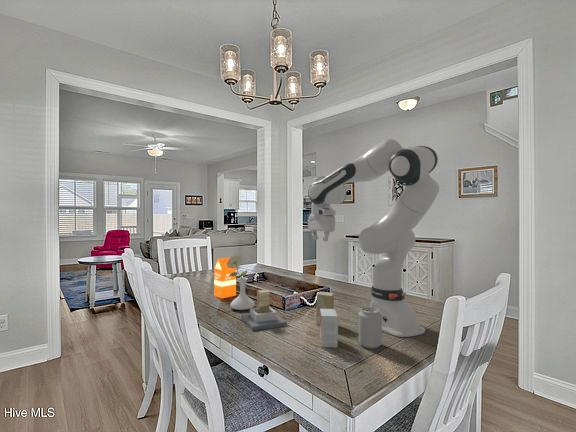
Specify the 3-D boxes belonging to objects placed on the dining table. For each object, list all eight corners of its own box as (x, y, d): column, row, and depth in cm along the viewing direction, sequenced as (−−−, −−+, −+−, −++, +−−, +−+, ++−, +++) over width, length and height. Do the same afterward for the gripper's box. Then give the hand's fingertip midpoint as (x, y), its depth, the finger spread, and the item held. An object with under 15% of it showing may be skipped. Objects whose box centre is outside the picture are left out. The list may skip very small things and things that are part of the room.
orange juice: (213, 295, 166) (214, 257, 166) (228, 292, 172) (228, 256, 172) (221, 298, 160) (221, 259, 160) (236, 295, 166) (236, 257, 166)
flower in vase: (252, 303, 151) (252, 252, 151) (257, 310, 140) (257, 255, 140) (224, 306, 147) (225, 253, 147) (228, 313, 136) (228, 256, 136)
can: (379, 340, 108) (379, 306, 108) (383, 350, 101) (383, 313, 101) (357, 339, 109) (357, 305, 109) (360, 349, 102) (360, 312, 102)
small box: (319, 337, 111) (319, 308, 111) (335, 338, 111) (335, 308, 111) (320, 347, 103) (321, 315, 103) (337, 347, 103) (338, 316, 103)
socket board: (286, 325, 122) (286, 314, 122) (252, 330, 117) (252, 318, 117) (272, 313, 137) (272, 303, 137) (241, 317, 132) (241, 306, 131)
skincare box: (315, 324, 124) (316, 293, 124) (318, 321, 128) (318, 291, 128) (331, 326, 122) (332, 295, 121) (334, 323, 126) (334, 292, 125)
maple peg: (269, 318, 126) (269, 291, 126) (260, 319, 124) (260, 292, 124) (266, 315, 130) (266, 289, 129) (256, 316, 128) (257, 290, 128)
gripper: (304, 211, 156) (304, 238, 157) (325, 211, 138) (325, 242, 138) (316, 211, 159) (315, 238, 159) (337, 211, 140) (337, 242, 140)
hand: (320, 240), depth 148 cm, fingers open, 8 cm apart
